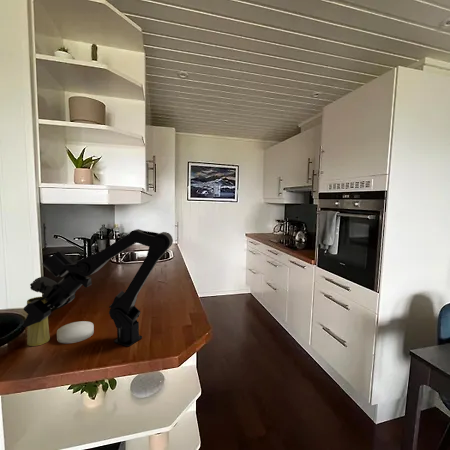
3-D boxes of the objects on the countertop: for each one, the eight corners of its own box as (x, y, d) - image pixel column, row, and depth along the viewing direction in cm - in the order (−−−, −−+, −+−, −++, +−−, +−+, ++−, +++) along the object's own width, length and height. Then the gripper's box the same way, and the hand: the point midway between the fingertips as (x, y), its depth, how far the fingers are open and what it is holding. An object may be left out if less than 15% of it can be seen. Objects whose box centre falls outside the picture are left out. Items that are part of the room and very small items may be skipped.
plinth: (100, 331, 94) (100, 324, 94) (71, 346, 84) (71, 338, 84) (79, 325, 98) (79, 319, 98) (49, 339, 88) (49, 331, 88)
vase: (25, 341, 87) (23, 299, 86) (47, 335, 91) (46, 294, 90) (29, 348, 82) (26, 304, 81) (52, 341, 87) (50, 299, 86)
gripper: (65, 263, 94) (34, 293, 95) (29, 277, 76) (-9, 314, 76) (88, 284, 95) (57, 314, 96) (58, 303, 77) (20, 340, 77)
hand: (34, 319), depth 86 cm, fingers open, 9 cm apart
